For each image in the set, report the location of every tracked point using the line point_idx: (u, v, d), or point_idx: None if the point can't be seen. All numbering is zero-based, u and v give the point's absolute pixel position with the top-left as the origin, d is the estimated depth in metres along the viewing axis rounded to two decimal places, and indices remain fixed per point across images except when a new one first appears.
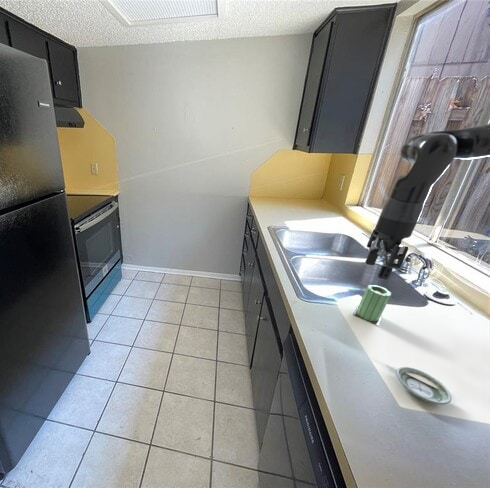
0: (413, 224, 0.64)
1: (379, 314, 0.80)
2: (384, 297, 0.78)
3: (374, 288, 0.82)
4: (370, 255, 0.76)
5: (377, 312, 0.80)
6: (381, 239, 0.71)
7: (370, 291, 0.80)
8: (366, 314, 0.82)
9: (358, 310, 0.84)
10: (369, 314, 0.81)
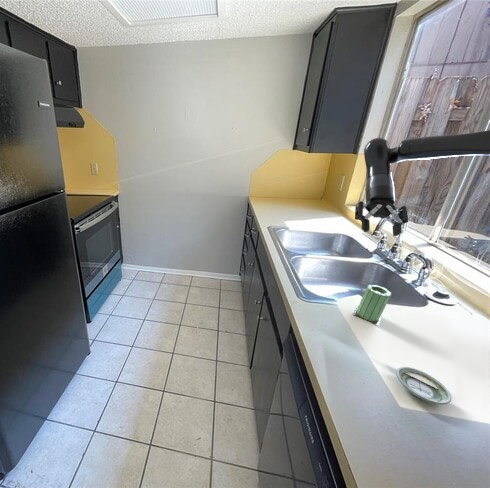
0: (372, 188, 0.87)
1: (379, 314, 0.80)
2: (384, 297, 0.78)
3: (374, 288, 0.82)
4: (393, 227, 0.84)
5: (377, 312, 0.80)
6: None
7: (370, 291, 0.80)
8: (366, 314, 0.82)
9: (358, 310, 0.84)
10: (369, 314, 0.81)
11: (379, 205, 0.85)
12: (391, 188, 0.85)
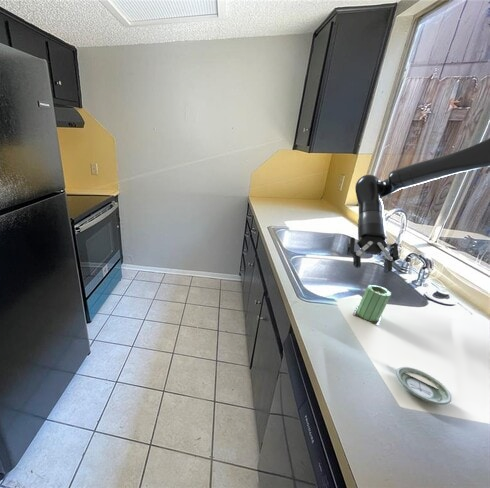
0: (364, 225, 0.90)
1: (379, 314, 0.80)
2: (384, 297, 0.78)
3: (374, 288, 0.82)
4: (384, 264, 0.86)
5: (377, 312, 0.80)
6: None
7: (370, 291, 0.80)
8: (366, 314, 0.82)
9: (358, 310, 0.84)
10: (369, 314, 0.81)
11: (370, 242, 0.87)
12: (382, 225, 0.87)
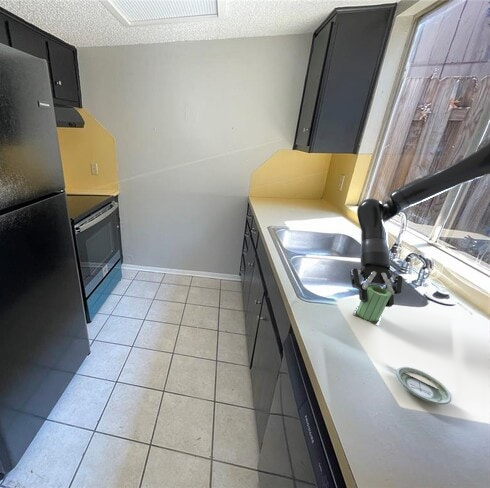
0: (367, 253, 0.85)
1: (379, 314, 0.80)
2: (384, 297, 0.78)
3: (374, 288, 0.82)
4: None
5: (377, 312, 0.80)
6: None
7: (370, 291, 0.80)
8: (366, 314, 0.82)
9: (358, 310, 0.84)
10: (369, 314, 0.81)
11: (374, 272, 0.82)
12: (387, 254, 0.82)
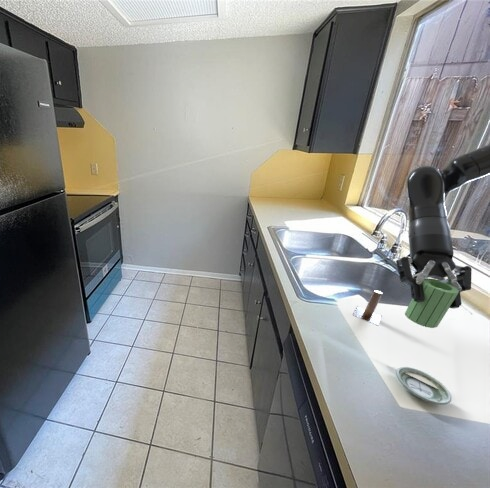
0: (420, 236, 0.64)
1: (440, 318, 0.60)
2: (450, 295, 0.57)
3: (432, 283, 0.61)
4: None
5: (438, 315, 0.59)
6: None
7: (428, 287, 0.59)
8: (421, 318, 0.61)
9: (408, 312, 0.64)
10: (426, 318, 0.60)
11: (431, 262, 0.61)
12: (449, 238, 0.61)
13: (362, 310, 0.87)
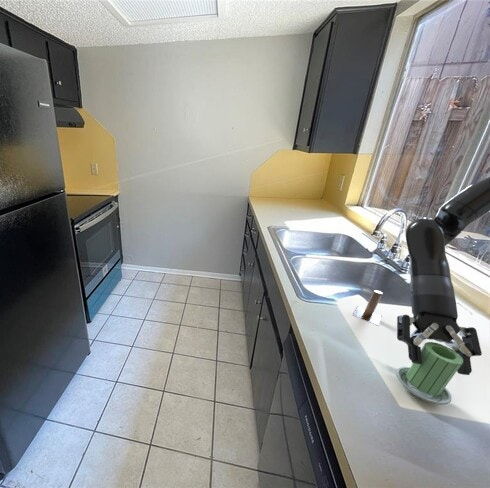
0: (423, 296, 0.61)
1: (443, 386, 0.57)
2: (454, 365, 0.54)
3: (434, 348, 0.58)
4: None
5: (441, 384, 0.56)
6: None
7: (431, 354, 0.56)
8: (423, 385, 0.58)
9: (410, 376, 0.61)
10: (429, 386, 0.57)
11: (435, 325, 0.58)
12: (453, 299, 0.58)
13: (362, 310, 0.87)
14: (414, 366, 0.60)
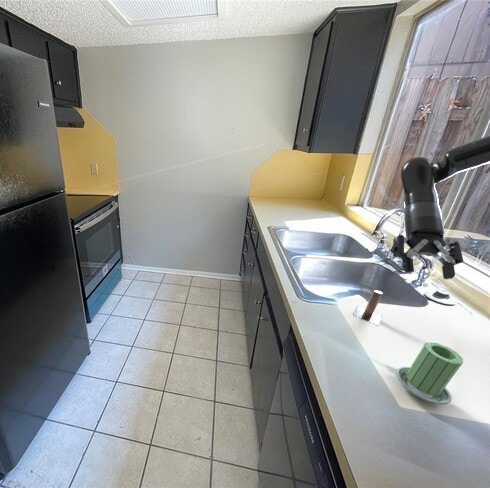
0: (414, 219, 0.72)
1: (443, 386, 0.57)
2: (454, 365, 0.54)
3: (434, 348, 0.58)
4: (443, 268, 0.69)
5: (441, 384, 0.56)
6: None
7: (431, 354, 0.56)
8: (423, 385, 0.58)
9: (410, 376, 0.61)
10: (429, 386, 0.57)
11: (425, 240, 0.69)
12: (440, 219, 0.69)
13: (362, 310, 0.87)
14: (414, 366, 0.60)
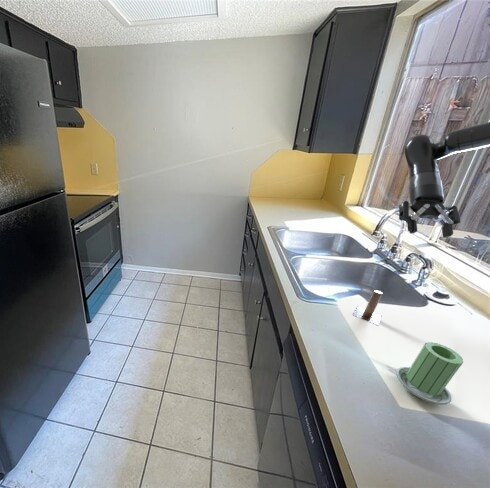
0: (418, 187, 0.82)
1: (443, 386, 0.57)
2: (454, 365, 0.54)
3: (434, 348, 0.58)
4: (442, 229, 0.79)
5: (441, 384, 0.56)
6: None
7: (431, 354, 0.56)
8: (424, 385, 0.58)
9: (410, 376, 0.61)
10: (429, 386, 0.57)
11: (427, 205, 0.79)
12: (440, 186, 0.80)
13: (362, 310, 0.87)
14: (414, 366, 0.60)
